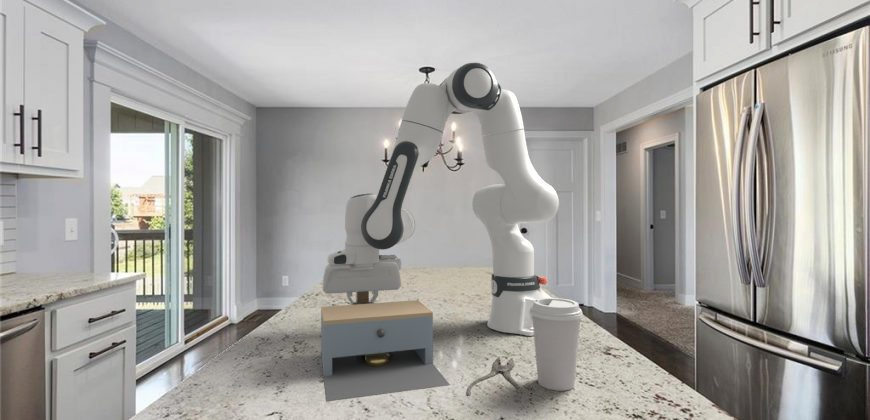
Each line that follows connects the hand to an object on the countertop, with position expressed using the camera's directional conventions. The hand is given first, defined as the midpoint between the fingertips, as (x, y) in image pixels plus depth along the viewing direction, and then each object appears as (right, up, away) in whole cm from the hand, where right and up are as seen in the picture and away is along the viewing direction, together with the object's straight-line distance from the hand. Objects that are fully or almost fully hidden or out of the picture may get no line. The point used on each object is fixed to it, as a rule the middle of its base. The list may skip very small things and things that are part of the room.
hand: (362, 308), depth 112 cm
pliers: (+30, -7, -30) cm, 43 cm away
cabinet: (+6, -6, -21) cm, 23 cm away
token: (+7, -6, -23) cm, 24 cm away
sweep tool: (+3, -6, -9) cm, 11 cm away
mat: (+8, -6, -25) cm, 27 cm away
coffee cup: (+41, -7, -33) cm, 53 cm away
